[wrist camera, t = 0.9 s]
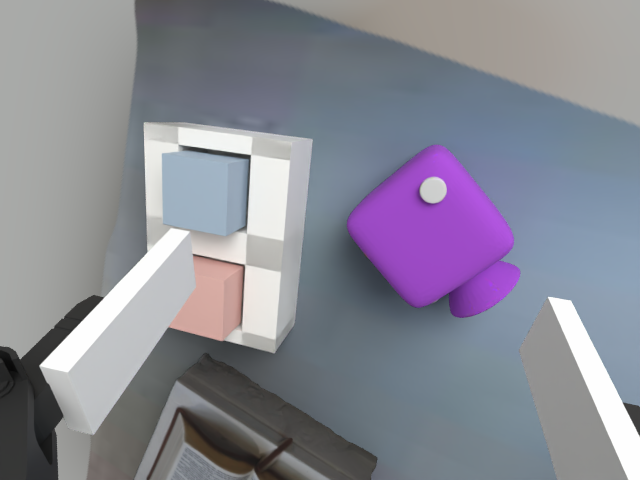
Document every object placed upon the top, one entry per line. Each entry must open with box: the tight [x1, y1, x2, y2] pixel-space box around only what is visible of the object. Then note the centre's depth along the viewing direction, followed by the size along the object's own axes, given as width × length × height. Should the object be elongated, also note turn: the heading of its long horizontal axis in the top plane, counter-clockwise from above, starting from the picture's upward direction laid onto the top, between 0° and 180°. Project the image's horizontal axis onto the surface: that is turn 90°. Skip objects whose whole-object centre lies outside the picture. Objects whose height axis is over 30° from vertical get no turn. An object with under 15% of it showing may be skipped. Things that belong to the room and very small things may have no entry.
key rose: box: [169, 256, 244, 341], centre depth 38 cm, size 6×6×4 cm
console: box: [144, 122, 313, 353], centre depth 40 cm, size 20×14×6 cm
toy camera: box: [347, 145, 520, 318], centre depth 32 cm, size 11×14×10 cm
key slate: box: [162, 151, 249, 236], centre depth 35 cm, size 6×6×4 cm
